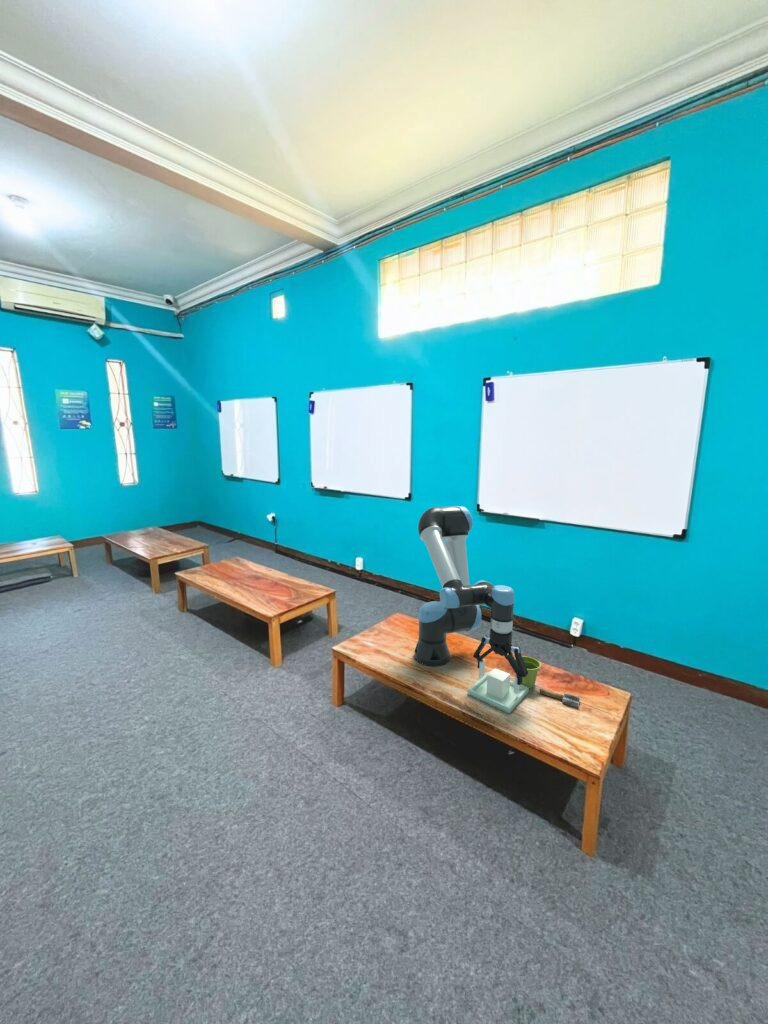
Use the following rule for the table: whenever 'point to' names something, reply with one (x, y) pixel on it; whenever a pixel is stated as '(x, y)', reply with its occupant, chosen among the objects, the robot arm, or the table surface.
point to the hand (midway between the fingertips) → (498, 684)
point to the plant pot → (530, 671)
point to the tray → (503, 704)
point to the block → (498, 683)
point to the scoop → (563, 698)
